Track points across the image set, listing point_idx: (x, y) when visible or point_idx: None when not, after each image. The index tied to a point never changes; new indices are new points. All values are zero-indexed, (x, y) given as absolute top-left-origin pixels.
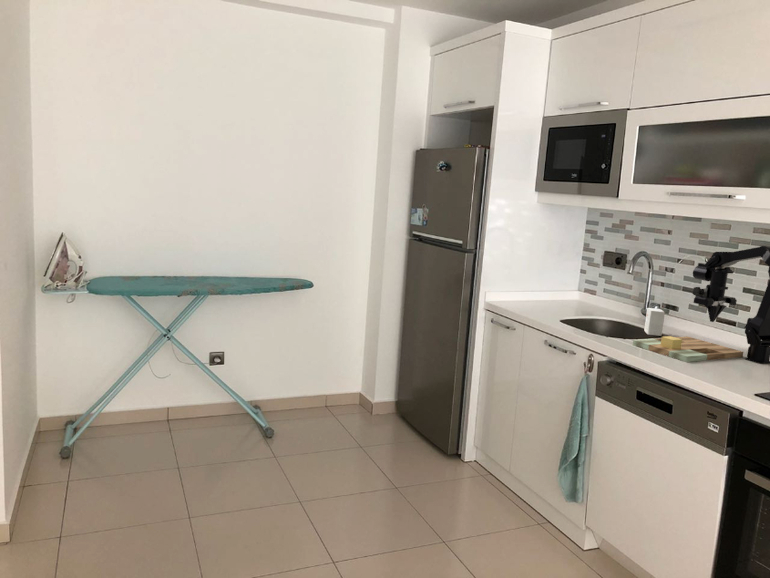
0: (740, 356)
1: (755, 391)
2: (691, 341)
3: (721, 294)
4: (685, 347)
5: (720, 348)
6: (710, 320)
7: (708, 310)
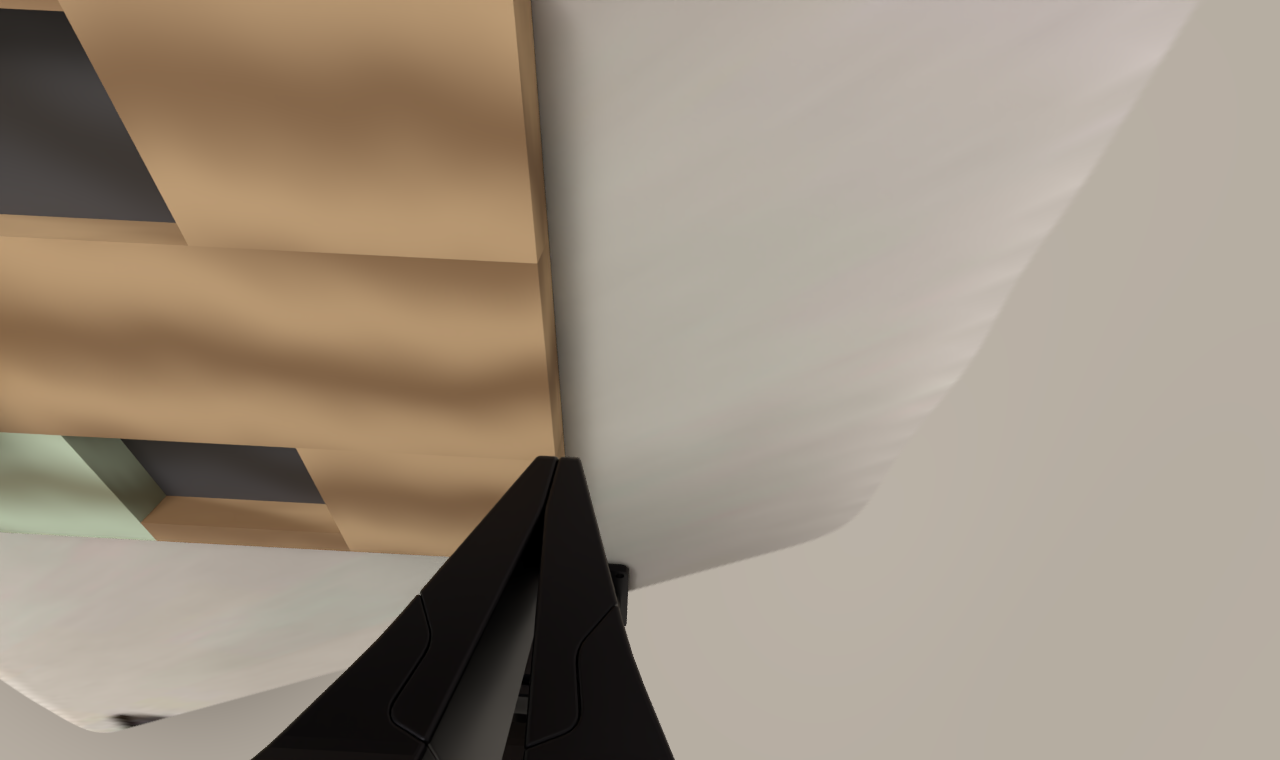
0: None
1: (144, 709)
2: (306, 234)
3: None
4: (49, 387)
5: (440, 480)
6: (527, 476)
7: (344, 690)
